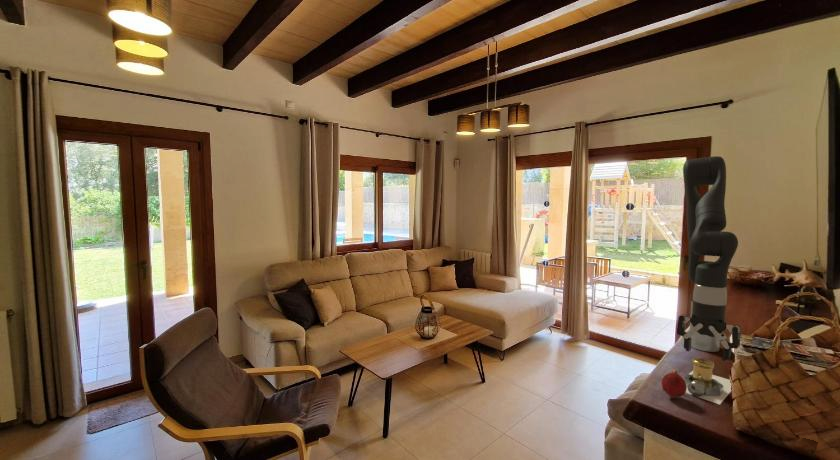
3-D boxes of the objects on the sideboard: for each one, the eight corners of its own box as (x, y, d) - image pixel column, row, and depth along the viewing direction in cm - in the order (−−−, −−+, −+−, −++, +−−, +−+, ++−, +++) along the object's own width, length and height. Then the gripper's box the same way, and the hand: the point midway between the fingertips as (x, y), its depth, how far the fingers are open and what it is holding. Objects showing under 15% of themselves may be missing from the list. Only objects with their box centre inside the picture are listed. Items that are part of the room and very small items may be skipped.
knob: (694, 381, 110) (695, 356, 110) (714, 388, 106) (716, 361, 106) (688, 386, 107) (690, 360, 106) (709, 393, 103) (711, 366, 103)
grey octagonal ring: (689, 378, 112) (690, 367, 112) (725, 389, 106) (726, 377, 105) (676, 389, 105) (677, 377, 105) (714, 402, 99) (714, 389, 98)
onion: (686, 405, 99) (688, 377, 98) (661, 399, 102) (662, 371, 101) (684, 396, 104) (686, 369, 103) (660, 390, 107) (662, 364, 106)
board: (694, 372, 119) (694, 369, 119) (738, 385, 110) (738, 382, 110) (672, 391, 106) (672, 387, 106) (719, 408, 98) (719, 404, 98)
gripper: (745, 303, 101) (741, 360, 102) (684, 293, 112) (681, 344, 114) (738, 308, 96) (734, 367, 98) (675, 297, 108) (672, 350, 109)
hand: (705, 355), depth 106 cm, fingers open, 8 cm apart
